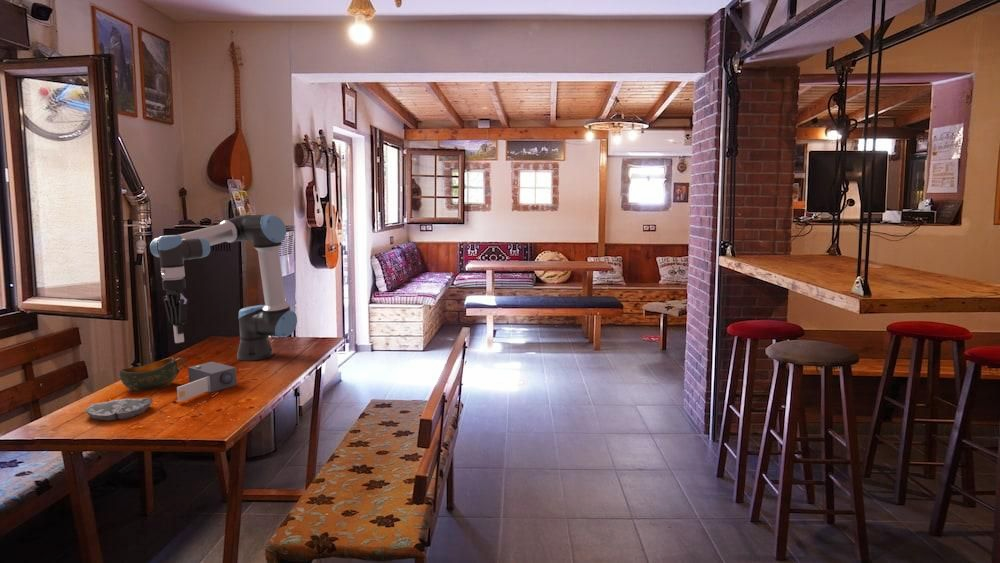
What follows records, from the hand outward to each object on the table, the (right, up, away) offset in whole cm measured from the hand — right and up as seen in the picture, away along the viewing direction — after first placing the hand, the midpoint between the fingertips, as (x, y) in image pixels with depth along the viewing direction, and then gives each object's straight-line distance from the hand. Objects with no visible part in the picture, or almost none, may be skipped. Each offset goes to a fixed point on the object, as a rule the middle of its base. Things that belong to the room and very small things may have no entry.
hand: (179, 342), depth 230 cm
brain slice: (-11, -23, -17) cm, 31 cm away
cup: (-16, -19, +12) cm, 28 cm away
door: (+6, -20, -1) cm, 21 cm away
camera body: (+6, -18, +14) cm, 24 cm away
